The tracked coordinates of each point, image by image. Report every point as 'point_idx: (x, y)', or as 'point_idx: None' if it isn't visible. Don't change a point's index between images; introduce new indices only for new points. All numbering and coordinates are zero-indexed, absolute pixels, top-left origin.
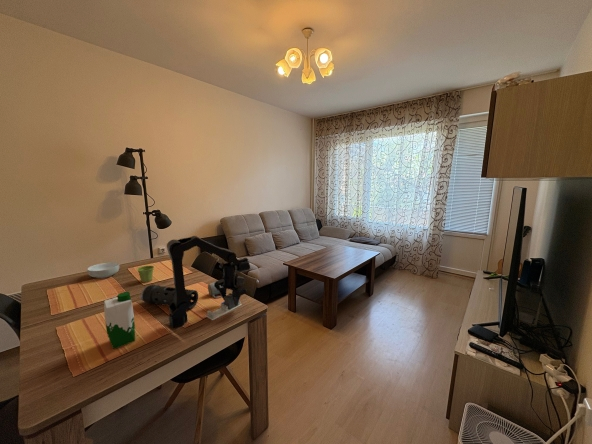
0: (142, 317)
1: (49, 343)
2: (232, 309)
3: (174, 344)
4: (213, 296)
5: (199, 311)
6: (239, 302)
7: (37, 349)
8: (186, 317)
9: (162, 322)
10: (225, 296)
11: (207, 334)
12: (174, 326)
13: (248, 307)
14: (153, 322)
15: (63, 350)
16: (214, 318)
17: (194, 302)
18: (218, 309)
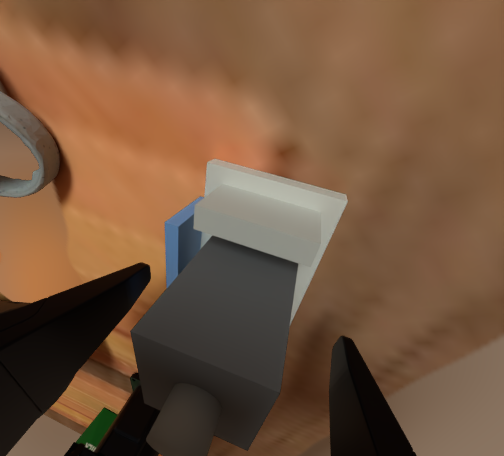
0: None
1: (51, 412)
2: (298, 304)
3: (236, 452)
4: (7, 188)
5: (126, 322)
6: (318, 232)
7: (59, 420)
8: (153, 419)
9: (106, 380)
10: (154, 402)
11: (303, 440)
12: None
13: (460, 198)
14: (89, 379)
15: (84, 426)
16: None
17: None
18: None
